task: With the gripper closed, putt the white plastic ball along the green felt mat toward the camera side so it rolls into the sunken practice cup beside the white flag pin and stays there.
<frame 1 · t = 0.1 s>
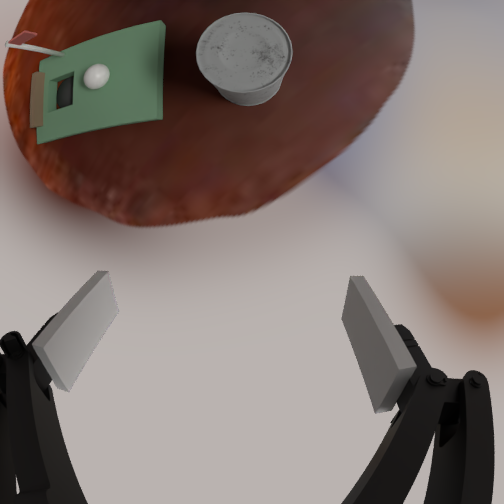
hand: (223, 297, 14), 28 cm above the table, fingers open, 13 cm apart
ball: (96, 76, 28), point 4 cm above the table, touching green
grey can: (248, 75, 33), on the table
green: (95, 84, 32), on the table
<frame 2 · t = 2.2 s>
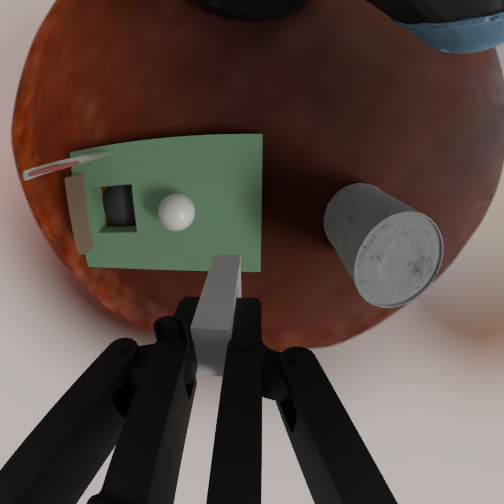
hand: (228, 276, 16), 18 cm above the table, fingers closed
ball: (176, 212, 29), point 4 cm above the table, touching green
grey can: (358, 219, 33), on the table
green: (163, 202, 33), on the table
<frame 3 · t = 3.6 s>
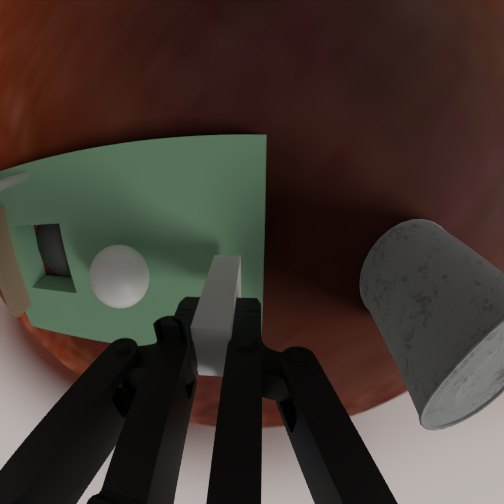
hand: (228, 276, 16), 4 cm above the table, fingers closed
ball: (119, 276, 16), point 4 cm above the table, touching green
grey can: (408, 271, 21), on the table
green: (111, 247, 20), on the table
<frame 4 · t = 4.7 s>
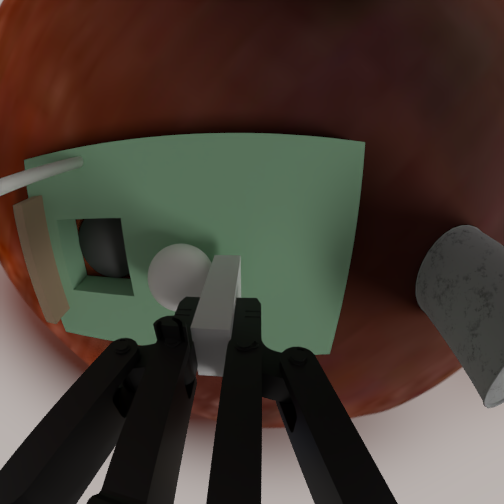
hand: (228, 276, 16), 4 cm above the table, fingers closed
ball: (181, 277, 16), point 4 cm above the table, tilted 40°, touching green
grey can: (454, 272, 21), on the table
green: (176, 246, 20), on the table
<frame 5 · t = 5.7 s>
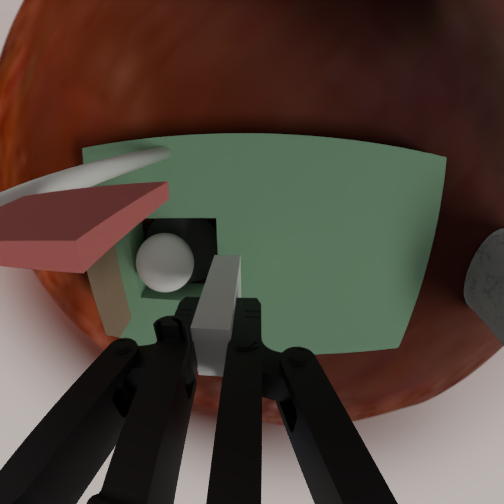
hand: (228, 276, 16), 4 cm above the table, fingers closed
ball: (164, 262, 18), point 2 cm above the table, tilted 64°, touching green
grey can: (492, 270, 20), on the table
green: (264, 248, 20), on the table
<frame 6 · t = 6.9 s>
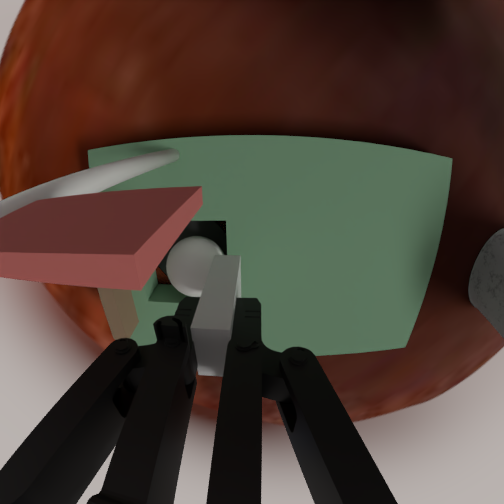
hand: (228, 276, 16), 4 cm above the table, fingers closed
ball: (196, 266, 18), point 2 cm above the table, tilted 110°, touching green
grey can: (496, 269, 20), on the table
green: (273, 250, 20), on the table
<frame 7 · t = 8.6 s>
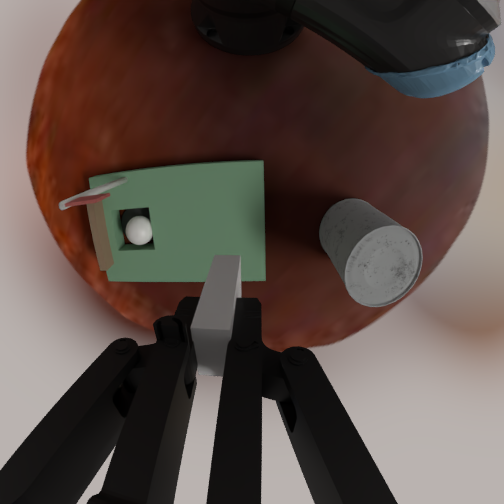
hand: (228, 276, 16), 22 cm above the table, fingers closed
ball: (139, 230, 36), point 2 cm above the table, tilted 113°, touching green
grey can: (350, 230, 38), on the table
green: (177, 222, 38), on the table
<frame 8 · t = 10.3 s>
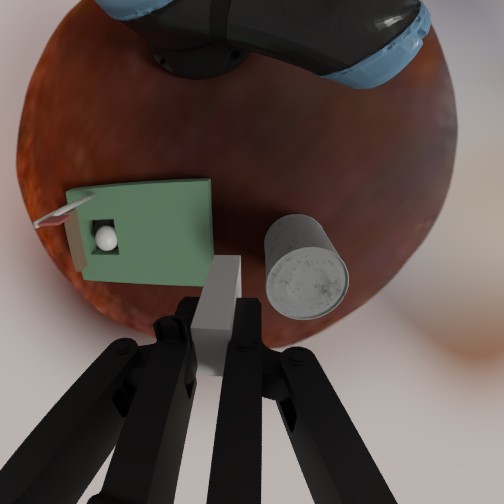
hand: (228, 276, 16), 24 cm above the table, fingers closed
ball: (107, 238, 40), point 2 cm above the table, tilted 112°, touching green
grey can: (295, 243, 42), on the table
green: (139, 231, 41), on the table
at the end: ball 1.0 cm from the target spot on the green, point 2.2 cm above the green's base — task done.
